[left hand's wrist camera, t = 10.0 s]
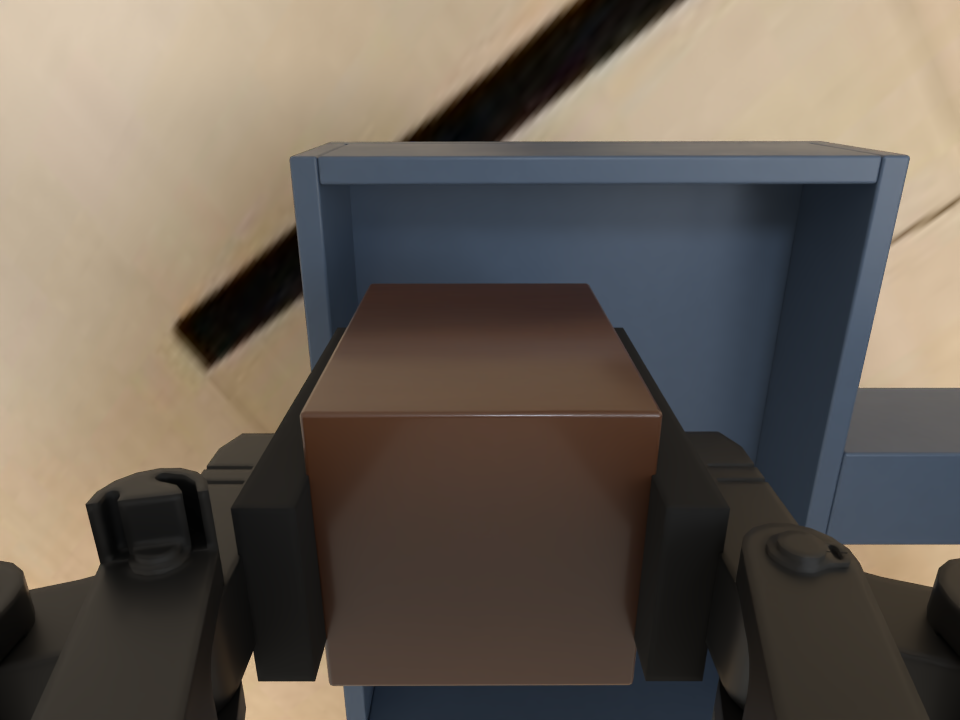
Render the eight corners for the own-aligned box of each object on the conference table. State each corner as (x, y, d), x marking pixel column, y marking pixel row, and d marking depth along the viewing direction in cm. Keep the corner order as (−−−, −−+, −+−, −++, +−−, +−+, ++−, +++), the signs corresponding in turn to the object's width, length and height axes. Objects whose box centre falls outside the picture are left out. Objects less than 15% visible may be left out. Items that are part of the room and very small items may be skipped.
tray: (368, 639, 25) (348, 740, 21) (328, 141, 18) (288, 156, 14) (1066, 639, 25) (1173, 740, 21) (1271, 140, 18) (1480, 154, 14)
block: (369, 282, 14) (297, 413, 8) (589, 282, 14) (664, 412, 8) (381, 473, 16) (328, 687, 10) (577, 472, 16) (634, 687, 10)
